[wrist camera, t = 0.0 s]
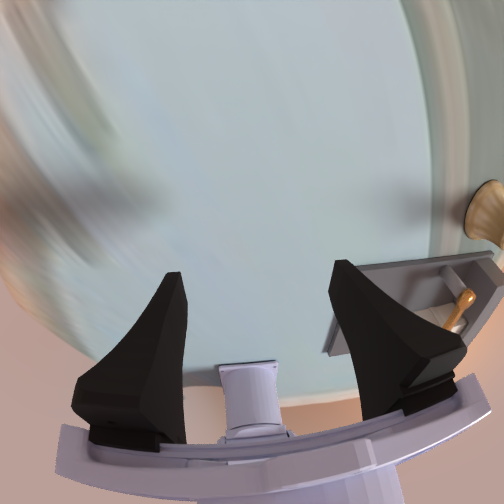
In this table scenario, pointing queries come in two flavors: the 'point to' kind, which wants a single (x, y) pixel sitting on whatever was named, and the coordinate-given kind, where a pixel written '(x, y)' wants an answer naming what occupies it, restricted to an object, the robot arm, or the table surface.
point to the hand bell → (487, 214)
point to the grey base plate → (437, 288)
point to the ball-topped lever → (460, 307)
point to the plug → (443, 316)
